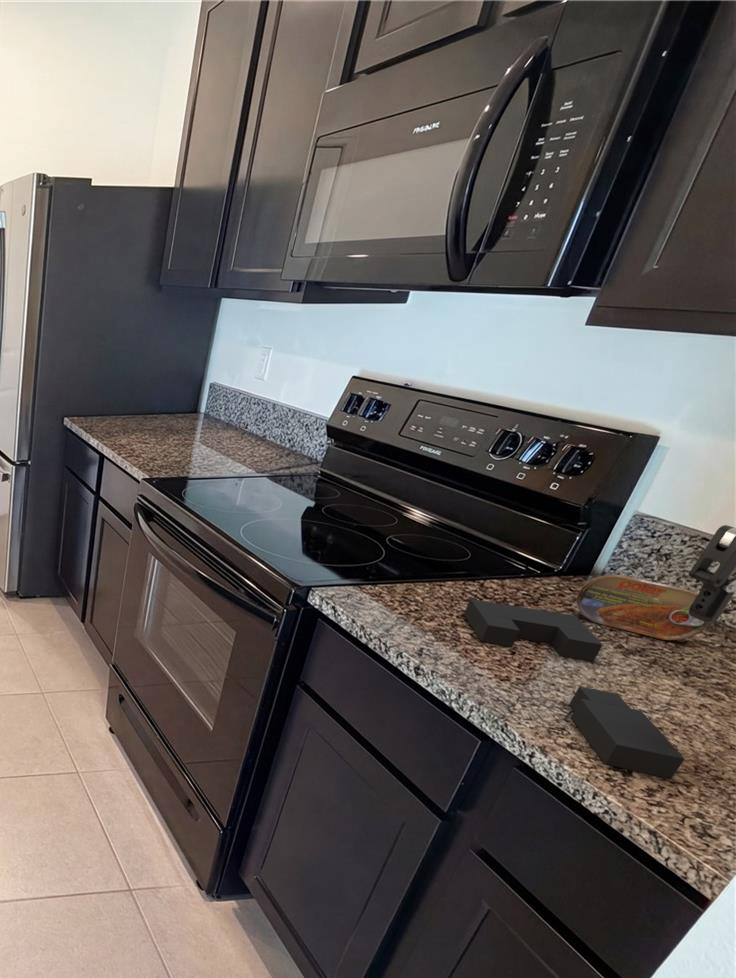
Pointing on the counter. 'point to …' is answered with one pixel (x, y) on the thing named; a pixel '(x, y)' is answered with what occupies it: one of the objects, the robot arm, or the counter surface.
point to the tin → (640, 607)
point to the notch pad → (531, 628)
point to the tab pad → (623, 734)
